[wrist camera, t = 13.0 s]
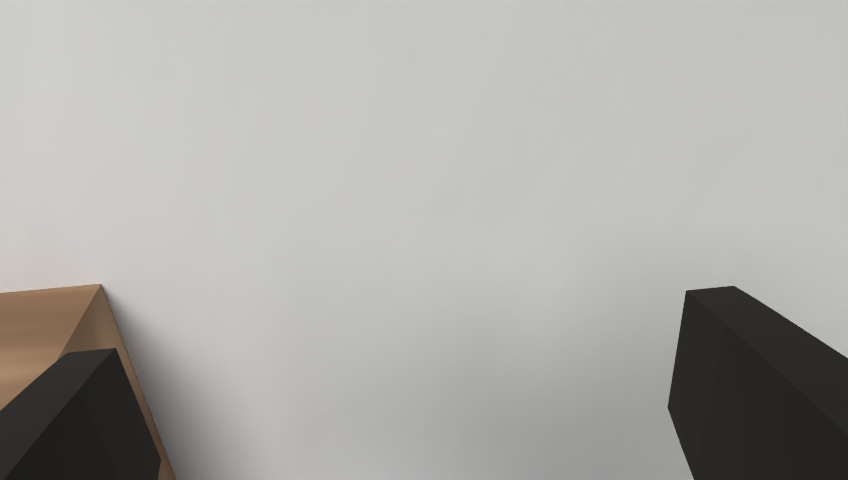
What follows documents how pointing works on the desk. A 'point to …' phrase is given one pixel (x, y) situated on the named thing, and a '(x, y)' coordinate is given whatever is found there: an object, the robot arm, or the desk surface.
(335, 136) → the desk surface
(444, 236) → the desk surface
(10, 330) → the pusher bar
